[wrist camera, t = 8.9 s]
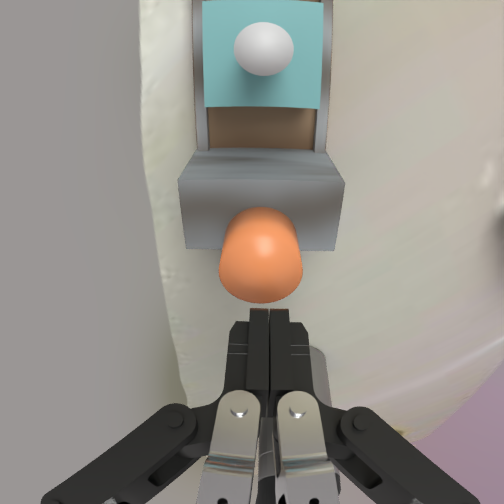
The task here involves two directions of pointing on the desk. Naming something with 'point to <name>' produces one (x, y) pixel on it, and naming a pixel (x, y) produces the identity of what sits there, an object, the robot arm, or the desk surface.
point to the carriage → (262, 53)
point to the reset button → (260, 256)
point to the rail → (261, 161)
